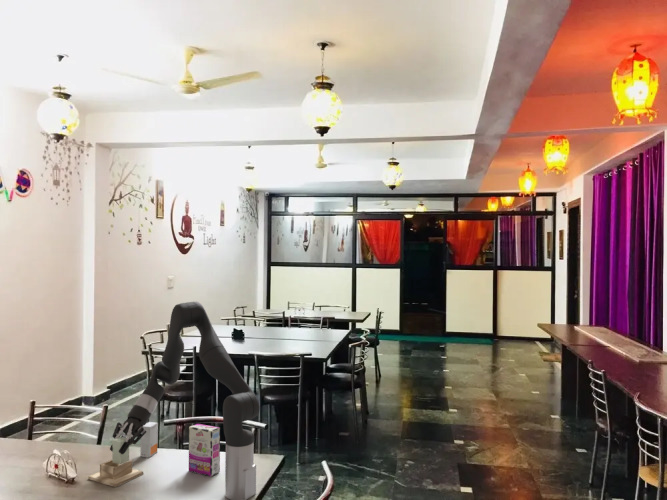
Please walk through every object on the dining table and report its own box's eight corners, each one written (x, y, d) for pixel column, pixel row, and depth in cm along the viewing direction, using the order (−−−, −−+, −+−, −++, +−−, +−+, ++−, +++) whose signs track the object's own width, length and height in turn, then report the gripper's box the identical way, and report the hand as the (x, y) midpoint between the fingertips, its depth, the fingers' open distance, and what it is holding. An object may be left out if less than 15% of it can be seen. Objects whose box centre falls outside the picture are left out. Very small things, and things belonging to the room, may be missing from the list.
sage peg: (129, 460, 190) (129, 438, 190) (120, 464, 187) (120, 441, 187) (121, 458, 192) (121, 436, 192) (112, 462, 188) (112, 440, 189)
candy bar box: (220, 472, 192) (220, 427, 192) (211, 477, 187) (211, 431, 187) (197, 466, 197) (197, 422, 197) (187, 471, 192) (188, 426, 193)
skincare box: (149, 457, 205) (150, 427, 206) (140, 456, 206) (140, 426, 206) (158, 452, 211) (158, 422, 212) (148, 451, 212) (148, 421, 212)
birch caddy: (143, 474, 190) (143, 460, 190) (115, 487, 179) (115, 472, 179) (116, 467, 196) (116, 453, 196) (88, 479, 185) (88, 464, 185)
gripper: (124, 401, 200) (96, 443, 189) (151, 406, 193) (124, 450, 182) (135, 412, 204) (108, 453, 193) (162, 417, 198) (136, 460, 187)
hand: (116, 451), depth 188 cm, fingers closed on sage peg, 4 cm apart
